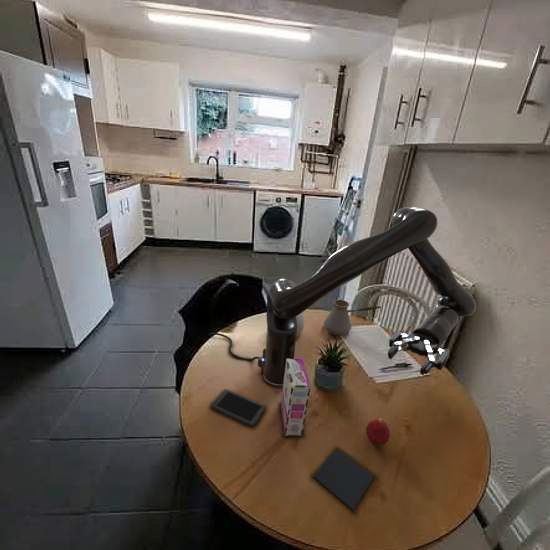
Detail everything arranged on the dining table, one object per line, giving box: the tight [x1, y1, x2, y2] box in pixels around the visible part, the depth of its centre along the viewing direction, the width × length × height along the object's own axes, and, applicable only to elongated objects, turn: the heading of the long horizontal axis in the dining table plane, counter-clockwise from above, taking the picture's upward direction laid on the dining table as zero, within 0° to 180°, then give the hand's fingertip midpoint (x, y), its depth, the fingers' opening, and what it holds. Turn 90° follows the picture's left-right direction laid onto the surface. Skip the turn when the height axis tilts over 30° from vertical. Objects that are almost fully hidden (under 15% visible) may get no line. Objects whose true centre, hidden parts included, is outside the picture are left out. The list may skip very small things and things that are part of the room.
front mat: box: [313, 448, 375, 511], centre depth 71 cm, size 10×10×1 cm
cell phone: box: [210, 389, 266, 427], centre depth 87 cm, size 7×14×1 cm, turn 64°
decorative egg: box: [296, 311, 306, 337], centre depth 122 cm, size 12×12×15 cm
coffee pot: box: [323, 299, 382, 336], centre depth 126 cm, size 21×12×15 cm, turn 71°
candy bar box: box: [280, 358, 312, 437], centre depth 82 cm, size 11×5×16 cm, turn 5°
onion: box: [365, 417, 391, 447], centre depth 79 cm, size 6×6×8 cm
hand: (405, 363), depth 79 cm, fingers open, 8 cm apart
